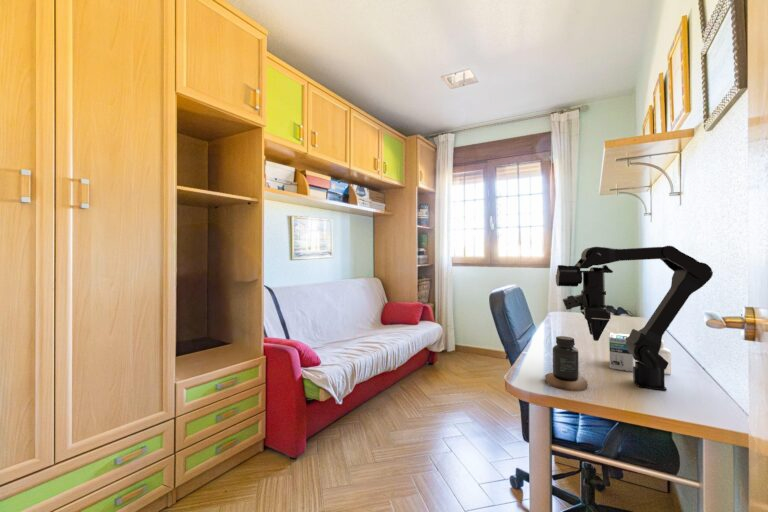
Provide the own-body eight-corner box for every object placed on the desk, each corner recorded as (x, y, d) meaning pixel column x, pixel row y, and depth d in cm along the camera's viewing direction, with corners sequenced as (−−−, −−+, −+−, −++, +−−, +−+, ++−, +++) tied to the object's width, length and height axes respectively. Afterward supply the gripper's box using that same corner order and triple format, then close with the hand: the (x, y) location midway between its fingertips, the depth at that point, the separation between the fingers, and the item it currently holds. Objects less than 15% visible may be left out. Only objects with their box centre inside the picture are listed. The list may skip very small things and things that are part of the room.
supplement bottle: (553, 372, 103) (553, 334, 103) (578, 376, 99) (578, 337, 100) (552, 379, 97) (551, 338, 97) (578, 383, 94) (578, 341, 94)
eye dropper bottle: (667, 376, 104) (666, 338, 104) (646, 371, 109) (645, 335, 109) (673, 374, 106) (672, 337, 107) (652, 369, 111) (651, 333, 111)
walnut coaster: (585, 380, 100) (585, 376, 100) (589, 393, 90) (589, 388, 90) (545, 375, 105) (545, 370, 105) (544, 386, 95) (544, 381, 95)
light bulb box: (633, 372, 108) (633, 339, 108) (609, 368, 112) (608, 337, 112) (633, 364, 116) (633, 334, 116) (610, 361, 120) (610, 331, 121)
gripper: (563, 284, 113) (563, 329, 113) (565, 288, 97) (565, 340, 96) (601, 285, 108) (601, 332, 108) (610, 289, 92) (611, 345, 91)
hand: (593, 337), depth 101 cm, fingers open, 9 cm apart
